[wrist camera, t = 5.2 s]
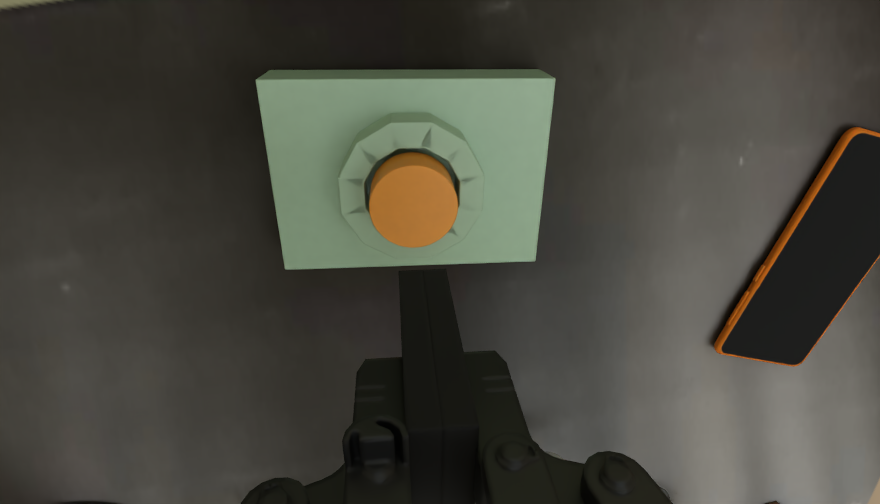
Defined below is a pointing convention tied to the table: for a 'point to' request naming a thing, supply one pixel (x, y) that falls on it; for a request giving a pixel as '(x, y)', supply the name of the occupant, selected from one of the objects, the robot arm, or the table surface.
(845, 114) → the table surface
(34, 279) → the table surface
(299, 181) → the green button housing
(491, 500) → the robot arm
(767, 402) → the table surface
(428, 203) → the orange push button
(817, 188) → the smartphone
